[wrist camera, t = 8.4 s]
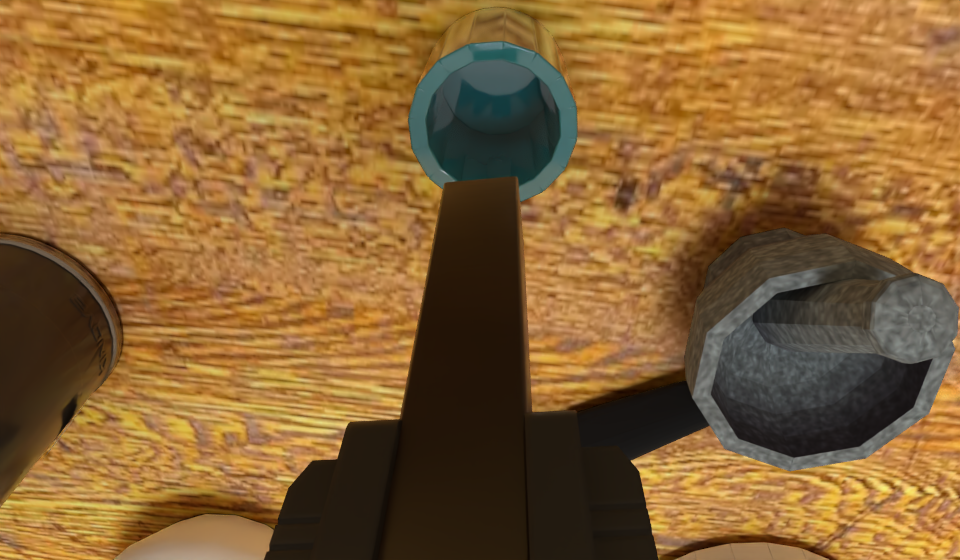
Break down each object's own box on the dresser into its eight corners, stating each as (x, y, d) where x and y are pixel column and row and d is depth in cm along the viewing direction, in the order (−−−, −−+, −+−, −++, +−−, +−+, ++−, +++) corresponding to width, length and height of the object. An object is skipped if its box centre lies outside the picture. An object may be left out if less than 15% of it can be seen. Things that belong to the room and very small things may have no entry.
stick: (452, 248, 19) (362, 916, 7) (443, 181, 19) (323, 808, 6) (523, 242, 19) (558, 912, 7) (517, 174, 18) (544, 802, 6)
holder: (436, 148, 33) (419, 211, 27) (421, 13, 31) (398, 49, 25) (566, 139, 33) (579, 201, 27) (562, 1, 30) (575, 34, 24)
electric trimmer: (721, 404, 39) (738, 445, 37) (461, 513, 43) (458, 558, 40) (692, 350, 38) (707, 388, 35) (425, 468, 42) (419, 510, 39)
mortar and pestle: (840, 382, 38) (966, 578, 28) (651, 369, 38) (704, 560, 28) (912, 166, 33) (1102, 306, 22) (692, 152, 33) (778, 285, 22)
